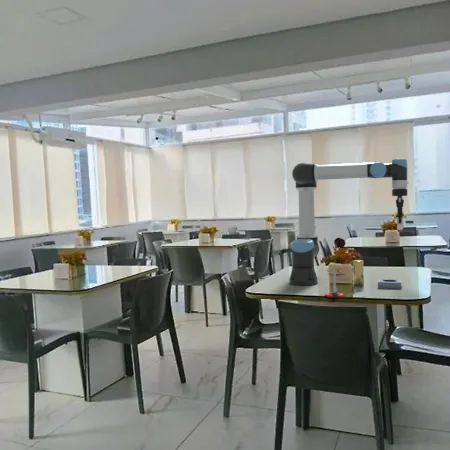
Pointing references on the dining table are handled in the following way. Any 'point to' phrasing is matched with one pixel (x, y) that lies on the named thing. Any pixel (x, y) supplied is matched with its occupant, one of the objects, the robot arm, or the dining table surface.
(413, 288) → the dining table surface
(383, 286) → the jig
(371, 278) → the dining table surface
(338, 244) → the dark brown rounded piece
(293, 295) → the dining table surface
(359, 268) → the golden tall block
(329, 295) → the grey spike red base
